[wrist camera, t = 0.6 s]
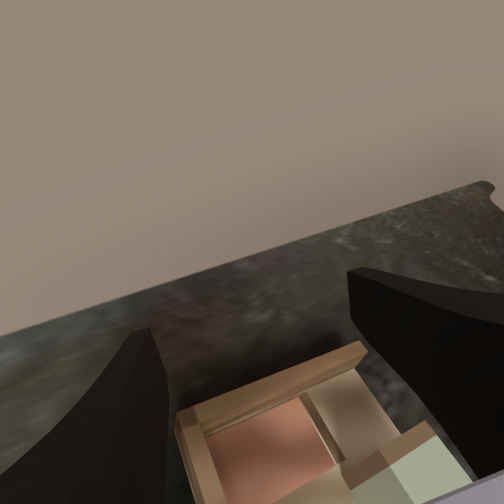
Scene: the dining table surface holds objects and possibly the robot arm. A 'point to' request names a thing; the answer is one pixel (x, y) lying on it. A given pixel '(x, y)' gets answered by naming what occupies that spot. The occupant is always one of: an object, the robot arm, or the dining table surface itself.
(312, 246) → the dining table surface
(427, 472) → the sage block
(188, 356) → the dining table surface
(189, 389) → the dining table surface
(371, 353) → the dining table surface
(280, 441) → the corner arena
